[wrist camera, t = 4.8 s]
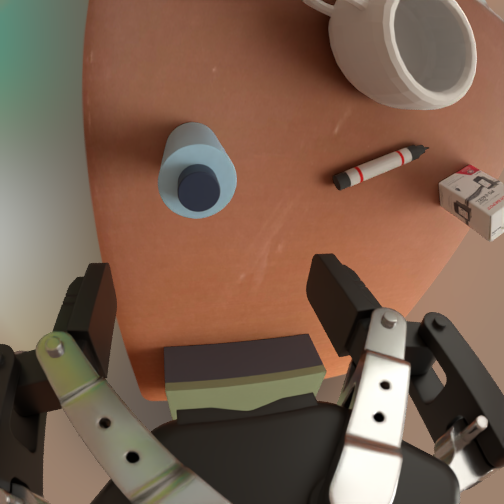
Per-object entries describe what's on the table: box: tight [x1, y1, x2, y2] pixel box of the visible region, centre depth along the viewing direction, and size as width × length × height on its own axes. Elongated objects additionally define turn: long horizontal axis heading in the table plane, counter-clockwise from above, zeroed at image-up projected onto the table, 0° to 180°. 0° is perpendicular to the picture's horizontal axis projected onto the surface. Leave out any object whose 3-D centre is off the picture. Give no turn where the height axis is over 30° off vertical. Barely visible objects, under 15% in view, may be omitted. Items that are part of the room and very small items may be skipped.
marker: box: [333, 145, 429, 191], centre depth 36 cm, size 15×2×2 cm, turn 111°
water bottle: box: [158, 122, 237, 218], centre depth 25 cm, size 6×6×14 cm
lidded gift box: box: [164, 334, 326, 420], centre depth 47 cm, size 24×12×8 cm, turn 85°
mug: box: [301, 0, 477, 110], centre depth 23 cm, size 21×17×10 cm
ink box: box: [439, 165, 504, 241], centre depth 36 cm, size 9×5×12 cm, turn 115°
